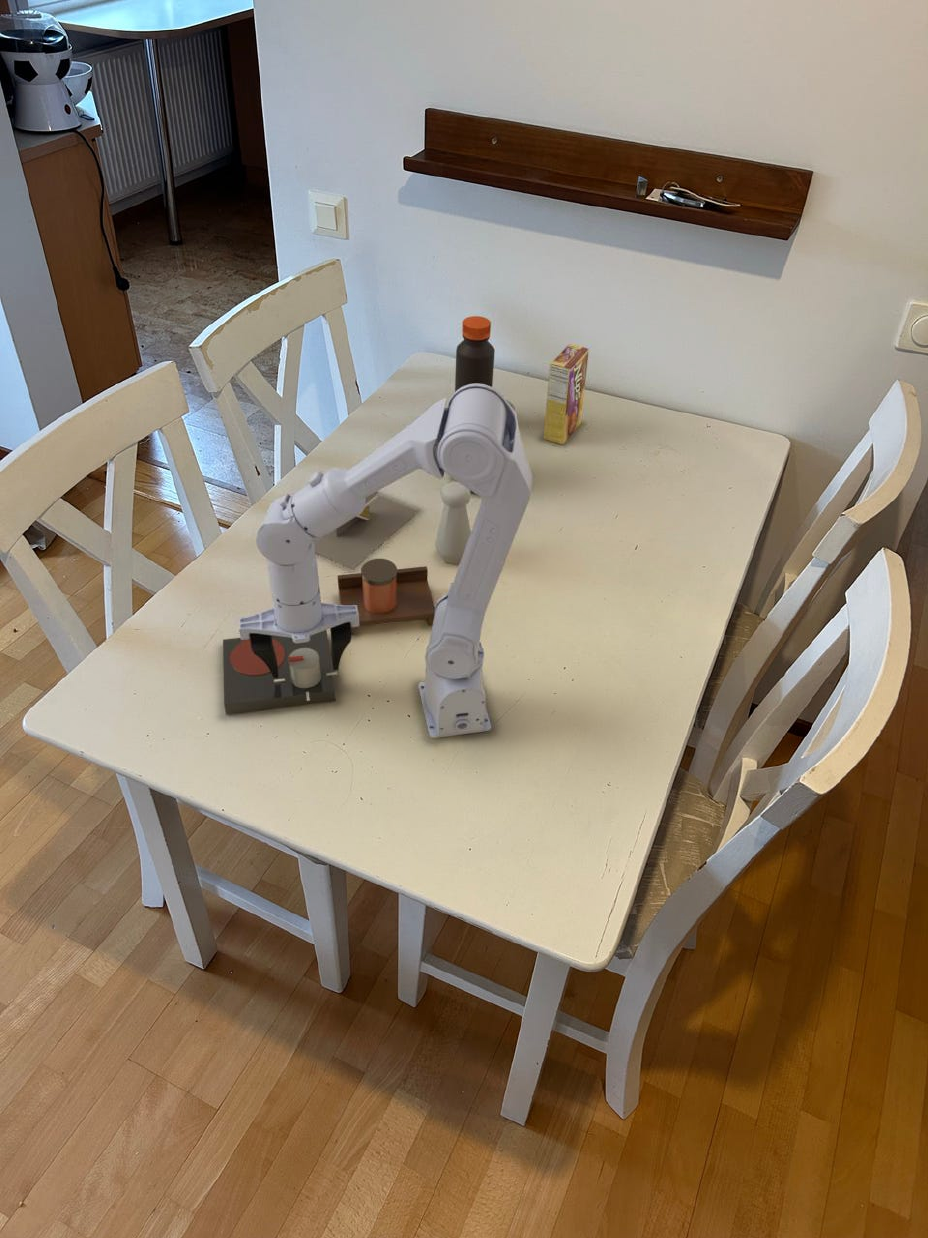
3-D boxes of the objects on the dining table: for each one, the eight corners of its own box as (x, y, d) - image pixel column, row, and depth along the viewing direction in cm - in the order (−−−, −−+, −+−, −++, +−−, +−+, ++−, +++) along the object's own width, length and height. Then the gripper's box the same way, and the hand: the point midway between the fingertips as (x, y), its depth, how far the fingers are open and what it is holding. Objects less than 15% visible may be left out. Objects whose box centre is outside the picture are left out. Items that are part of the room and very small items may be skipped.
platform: (418, 511, 151) (418, 477, 146) (352, 569, 139) (350, 535, 135) (359, 487, 155) (357, 454, 150) (291, 541, 143) (287, 507, 139)
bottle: (496, 421, 172) (503, 320, 158) (477, 437, 168) (483, 334, 154) (466, 410, 175) (470, 309, 161) (446, 425, 170) (449, 323, 157)
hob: (341, 707, 119) (340, 695, 117) (226, 721, 116) (224, 710, 115) (331, 637, 128) (330, 626, 127) (224, 649, 126) (222, 638, 124)
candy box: (560, 417, 174) (569, 342, 164) (581, 423, 173) (591, 348, 162) (541, 439, 168) (549, 362, 158) (562, 445, 167) (572, 368, 156)
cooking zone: (286, 672, 120) (286, 671, 120) (230, 678, 119) (230, 678, 119) (283, 634, 125) (283, 634, 125) (229, 640, 124) (229, 640, 124)
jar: (400, 612, 129) (399, 579, 125) (364, 615, 128) (363, 583, 124) (394, 588, 132) (394, 556, 128) (360, 592, 132) (358, 560, 127)
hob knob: (319, 664, 121) (317, 644, 119) (322, 686, 118) (320, 666, 116) (289, 668, 121) (286, 647, 118) (291, 690, 118) (288, 669, 115)
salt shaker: (467, 571, 140) (471, 501, 131) (431, 565, 141) (432, 495, 132) (475, 547, 144) (479, 478, 135) (439, 542, 145) (441, 473, 136)
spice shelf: (436, 625, 131) (436, 602, 128) (345, 636, 128) (343, 612, 125) (426, 589, 136) (426, 566, 133) (339, 598, 134) (337, 575, 131)
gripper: (234, 619, 105) (249, 698, 114) (360, 605, 108) (365, 683, 117) (233, 579, 110) (247, 659, 119) (353, 567, 113) (358, 645, 122)
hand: (305, 668), depth 118 cm, fingers open, 7 cm apart
